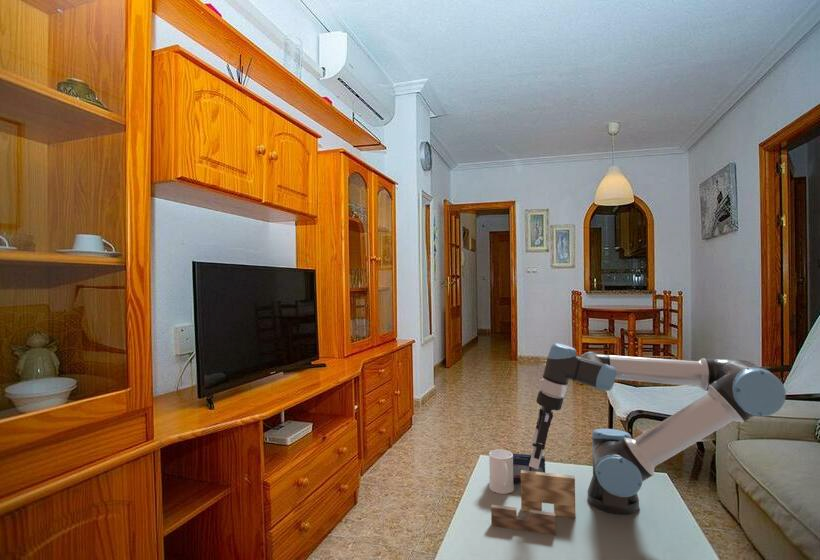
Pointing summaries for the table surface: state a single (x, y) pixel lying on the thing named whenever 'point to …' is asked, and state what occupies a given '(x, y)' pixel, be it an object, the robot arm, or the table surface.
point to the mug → (501, 471)
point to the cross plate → (548, 492)
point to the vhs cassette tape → (524, 466)
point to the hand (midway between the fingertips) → (534, 458)
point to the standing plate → (523, 520)
